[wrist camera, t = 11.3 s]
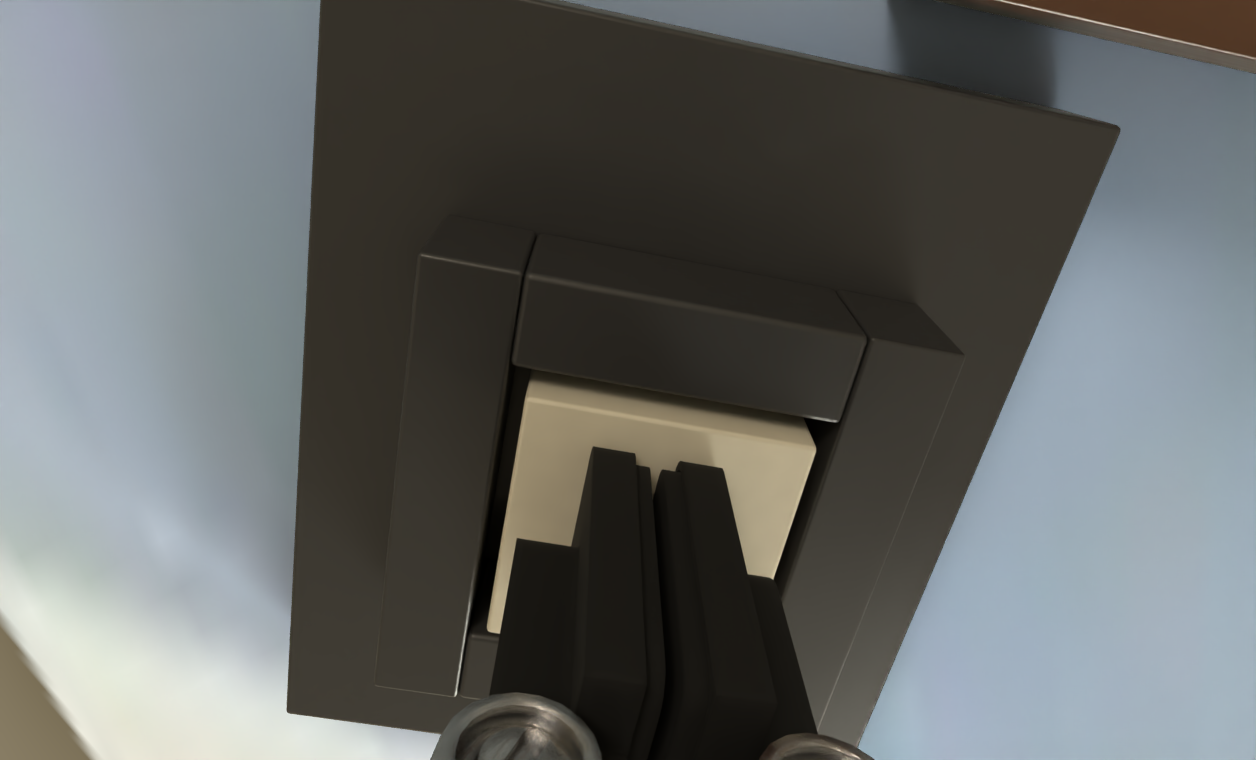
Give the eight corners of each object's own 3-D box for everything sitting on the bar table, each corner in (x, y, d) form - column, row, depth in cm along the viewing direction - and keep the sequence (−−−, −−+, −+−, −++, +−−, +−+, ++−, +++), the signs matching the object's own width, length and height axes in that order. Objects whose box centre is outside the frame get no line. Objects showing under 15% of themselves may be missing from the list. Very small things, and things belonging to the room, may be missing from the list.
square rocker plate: (360, -44, 11) (262, -55, 8) (1060, 109, 12) (1215, 152, 9) (316, 645, 16) (243, 804, 13) (820, 718, 17) (867, 883, 14)
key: (537, 341, 12) (525, 397, 10) (792, 387, 12) (819, 448, 10) (501, 554, 13) (485, 634, 12) (729, 590, 13) (744, 671, 12)
